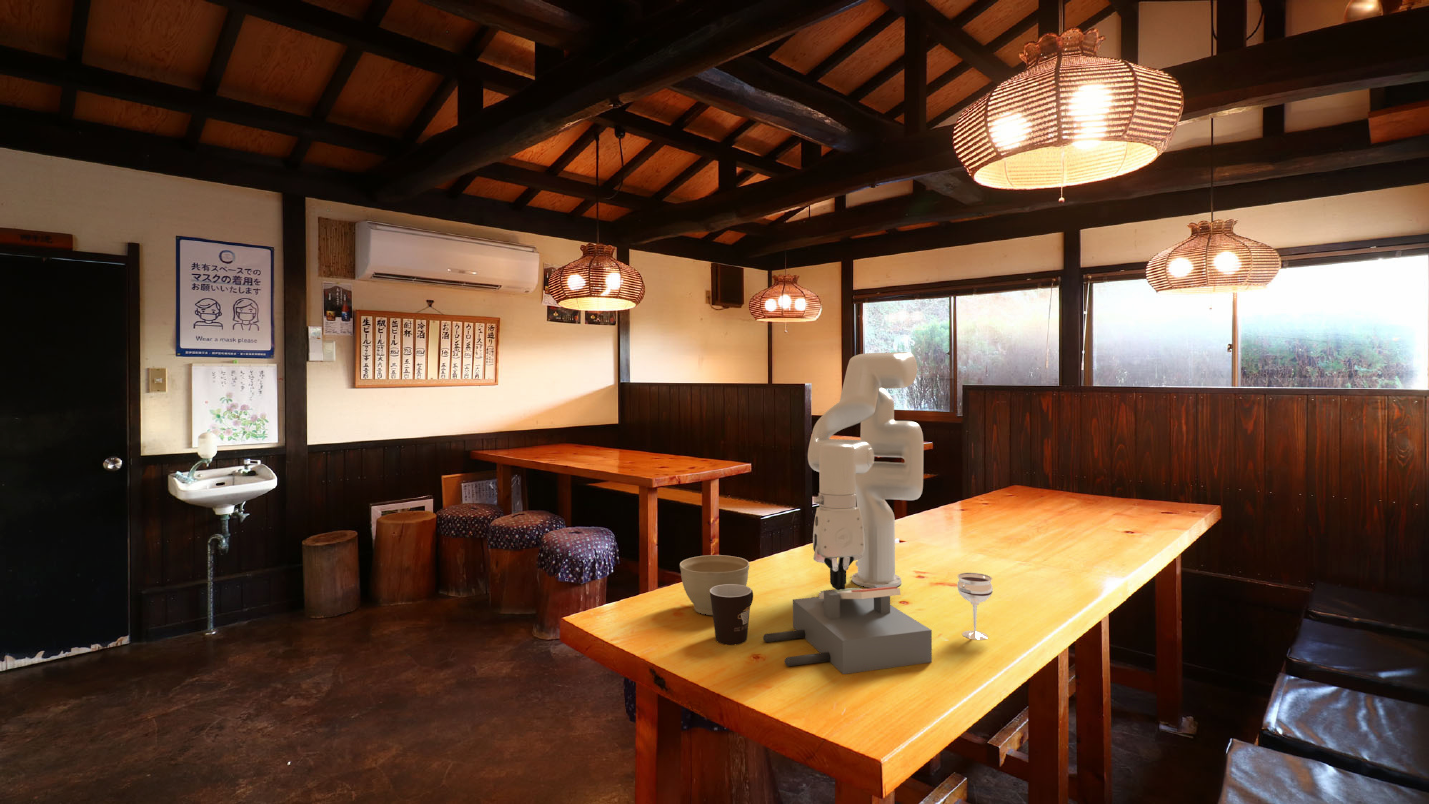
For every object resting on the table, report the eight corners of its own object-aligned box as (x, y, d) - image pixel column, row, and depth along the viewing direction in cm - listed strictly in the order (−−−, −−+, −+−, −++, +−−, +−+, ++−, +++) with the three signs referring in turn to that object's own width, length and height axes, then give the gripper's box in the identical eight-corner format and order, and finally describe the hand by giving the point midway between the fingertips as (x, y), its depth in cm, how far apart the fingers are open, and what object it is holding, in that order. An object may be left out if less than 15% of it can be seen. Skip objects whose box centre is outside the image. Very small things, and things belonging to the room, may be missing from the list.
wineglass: (959, 627, 139) (959, 571, 138) (994, 632, 136) (994, 574, 135) (955, 638, 133) (954, 579, 132) (991, 643, 129) (991, 583, 129)
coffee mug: (722, 650, 128) (722, 599, 128) (703, 635, 136) (702, 588, 136) (772, 639, 133) (772, 590, 133) (751, 625, 141) (750, 579, 141)
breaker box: (754, 631, 138) (753, 580, 137) (869, 618, 144) (868, 570, 144) (797, 680, 114) (796, 619, 114) (931, 662, 121) (931, 604, 121)
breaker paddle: (818, 599, 138) (817, 591, 139) (854, 596, 141) (853, 587, 141) (861, 600, 120) (859, 590, 120) (901, 595, 122) (900, 586, 122)
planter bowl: (764, 610, 151) (763, 563, 151) (709, 627, 141) (708, 577, 140) (720, 594, 163) (719, 550, 163) (666, 608, 153) (666, 562, 153)
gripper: (811, 506, 132) (812, 596, 132) (878, 502, 136) (878, 590, 136) (797, 500, 139) (798, 586, 140) (861, 497, 143) (862, 580, 143)
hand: (838, 587), depth 138 cm, fingers closed
